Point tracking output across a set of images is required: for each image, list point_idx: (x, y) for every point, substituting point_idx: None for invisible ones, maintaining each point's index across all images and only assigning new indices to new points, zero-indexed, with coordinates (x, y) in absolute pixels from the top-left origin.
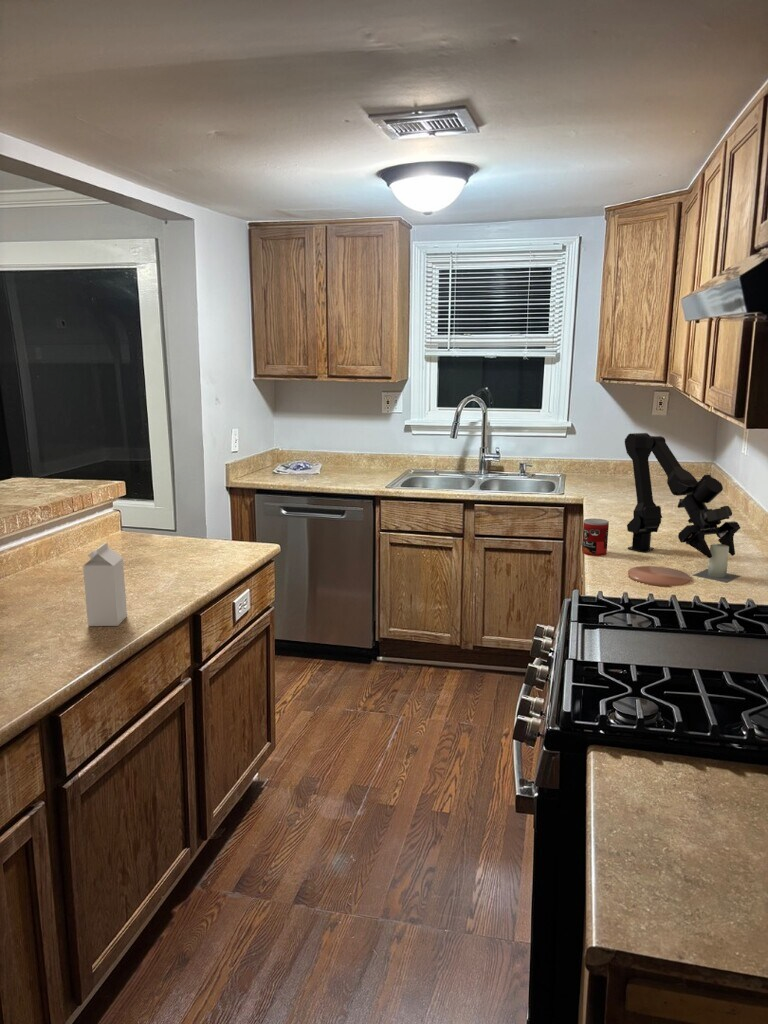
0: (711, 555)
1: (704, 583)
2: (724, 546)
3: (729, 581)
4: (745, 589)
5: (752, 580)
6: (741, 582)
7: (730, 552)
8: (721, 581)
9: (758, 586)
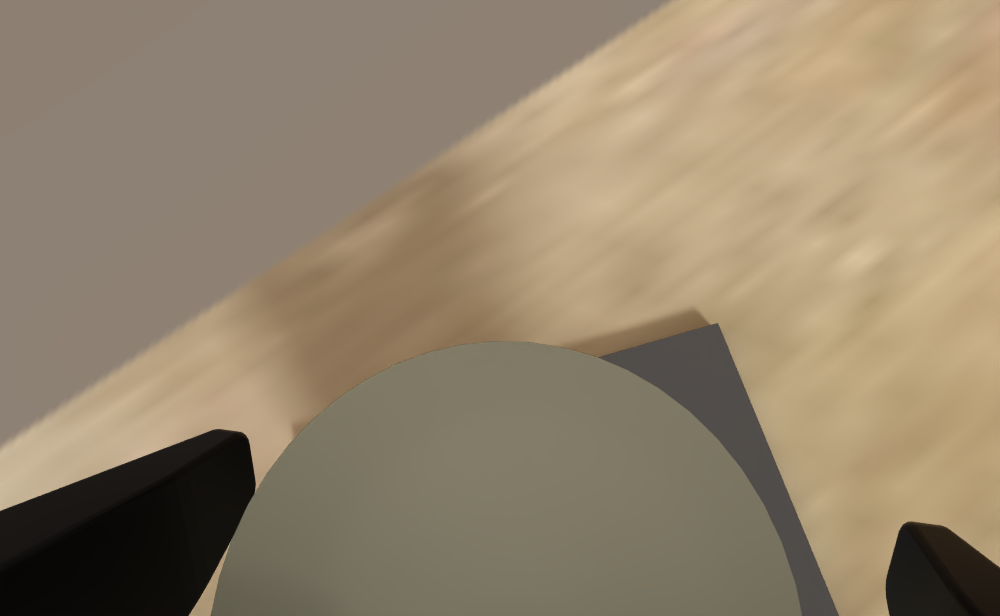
0: (937, 530)
1: (993, 475)
2: (408, 498)
3: (637, 347)
4: (677, 128)
5: (314, 309)
6: (490, 306)
7: (206, 542)
8: (740, 386)
9: (461, 150)
